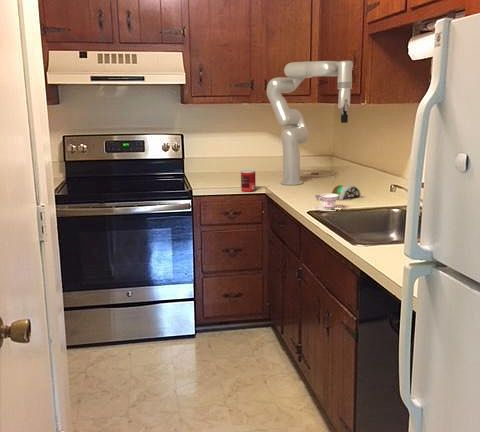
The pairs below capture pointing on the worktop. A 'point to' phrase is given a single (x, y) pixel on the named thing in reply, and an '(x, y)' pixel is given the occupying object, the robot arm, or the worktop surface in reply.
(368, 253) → the worktop surface
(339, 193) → the food container
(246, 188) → the canned food
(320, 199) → the mat
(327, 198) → the teacup
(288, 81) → the robot arm
